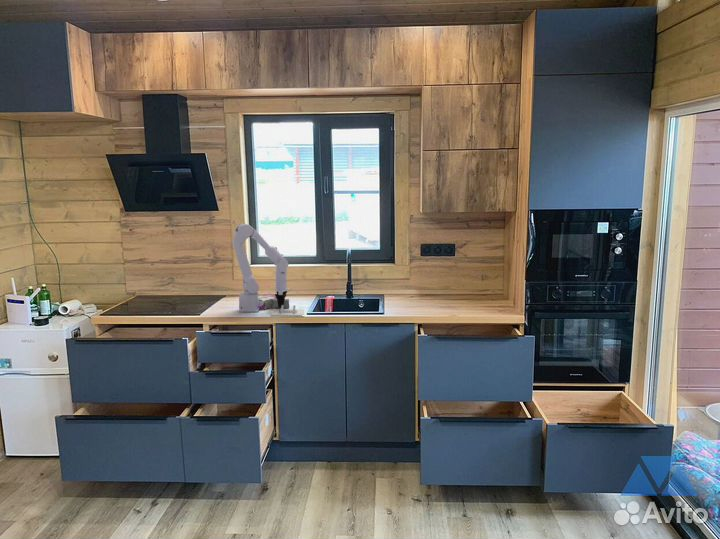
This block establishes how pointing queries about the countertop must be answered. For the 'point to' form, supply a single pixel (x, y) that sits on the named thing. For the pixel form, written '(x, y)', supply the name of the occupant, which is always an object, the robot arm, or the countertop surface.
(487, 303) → the countertop surface
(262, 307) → the candy bar box
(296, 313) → the tray
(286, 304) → the block
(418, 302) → the countertop surface
